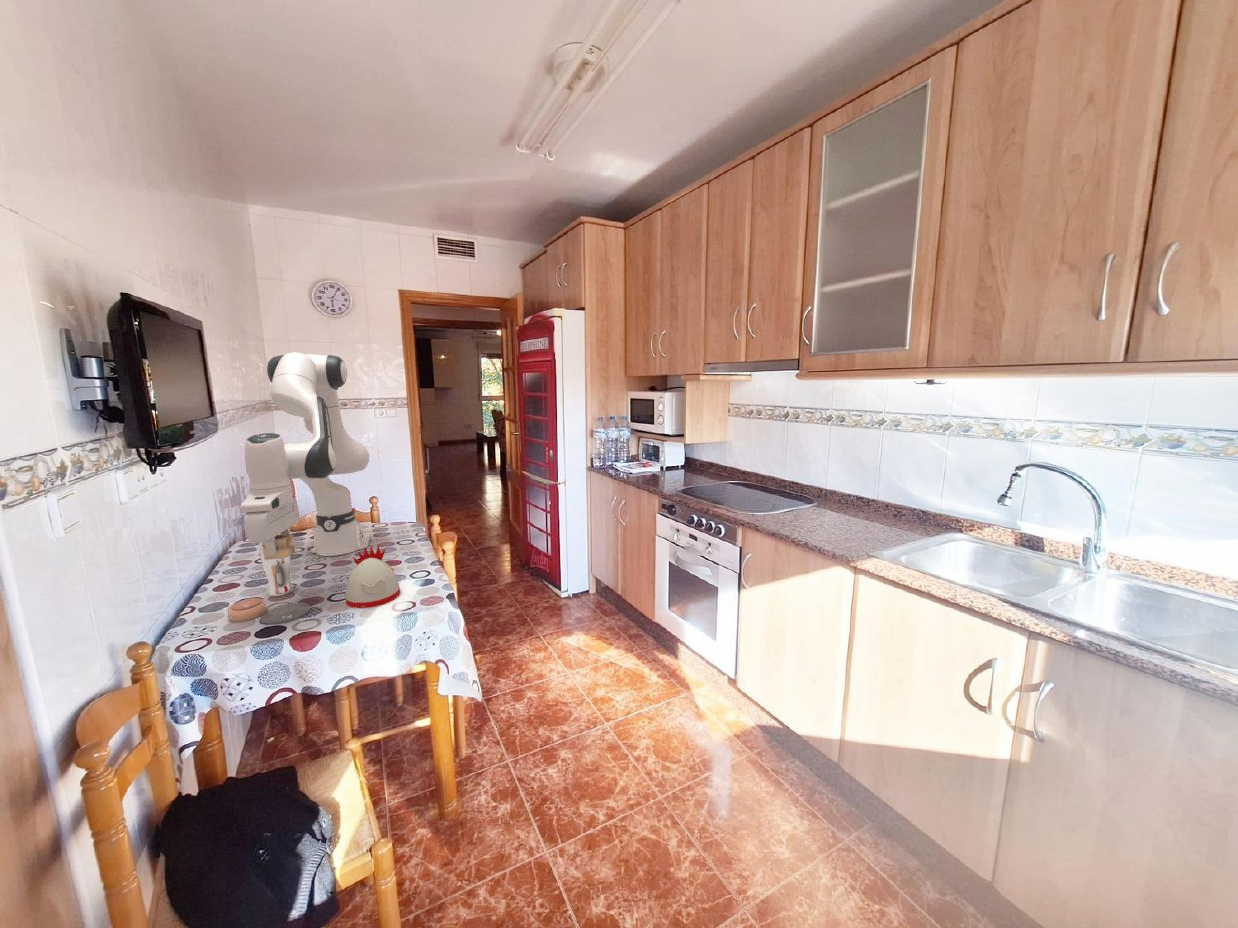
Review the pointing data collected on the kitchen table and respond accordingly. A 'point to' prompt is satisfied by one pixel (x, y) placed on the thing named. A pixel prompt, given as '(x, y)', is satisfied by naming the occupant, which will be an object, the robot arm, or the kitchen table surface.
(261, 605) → the ramekin
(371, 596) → the kitchen timer
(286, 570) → the beer glass
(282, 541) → the oak block
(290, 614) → the coaster
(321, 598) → the kitchen table surface
